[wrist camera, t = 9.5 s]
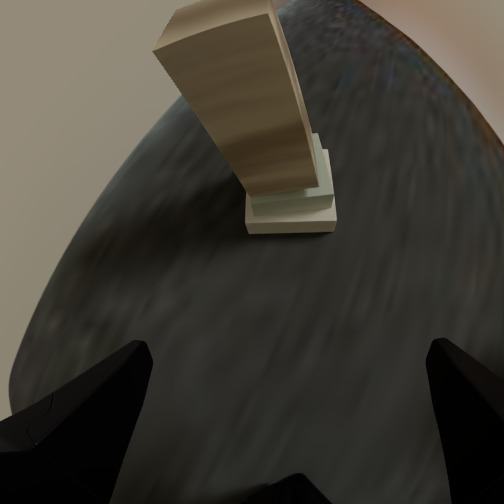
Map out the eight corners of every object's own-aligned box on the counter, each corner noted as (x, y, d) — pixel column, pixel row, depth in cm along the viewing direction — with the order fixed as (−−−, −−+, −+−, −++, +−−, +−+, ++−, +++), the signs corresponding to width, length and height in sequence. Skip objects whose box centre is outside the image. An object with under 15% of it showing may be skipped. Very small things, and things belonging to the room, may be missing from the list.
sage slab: (331, 207, 22) (334, 193, 21) (254, 217, 23) (250, 204, 21) (316, 148, 25) (317, 133, 23) (248, 156, 25) (245, 142, 23)
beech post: (319, 187, 20) (268, 13, 8) (249, 196, 21) (152, 51, 10) (312, 134, 22) (264, -18, 10) (250, 145, 23) (176, 10, 12)
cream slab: (333, 233, 24) (336, 220, 22) (249, 236, 25) (245, 223, 23) (325, 166, 27) (327, 149, 24) (252, 168, 28) (248, 152, 25)
